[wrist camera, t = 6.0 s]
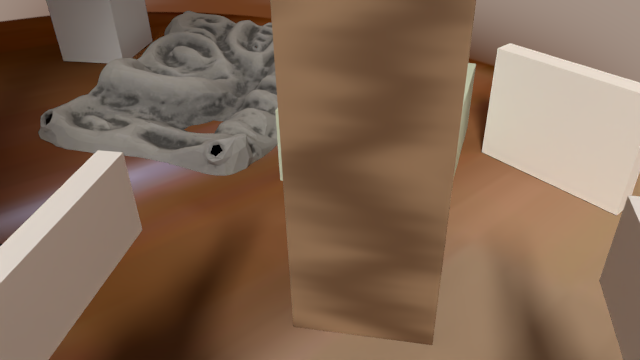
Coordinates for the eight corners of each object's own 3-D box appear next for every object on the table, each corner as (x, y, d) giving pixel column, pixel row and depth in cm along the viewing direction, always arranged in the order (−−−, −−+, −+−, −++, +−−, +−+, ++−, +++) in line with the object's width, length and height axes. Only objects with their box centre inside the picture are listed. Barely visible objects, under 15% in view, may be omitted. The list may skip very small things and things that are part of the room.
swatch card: (616, 215, 31) (655, 98, 27) (481, 152, 37) (497, 48, 33) (631, 204, 32) (670, 88, 28) (496, 143, 38) (514, 41, 34)
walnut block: (293, 326, 25) (260, -145, 15) (319, 239, 30) (306, -159, 20) (432, 345, 24) (495, -148, 14) (435, 252, 29) (483, -161, 19)
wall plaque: (184, 35, 59) (178, -3, 57) (361, 55, 53) (362, 13, 51) (8, 144, 40) (-11, 93, 38) (249, 192, 35) (243, 136, 33)
